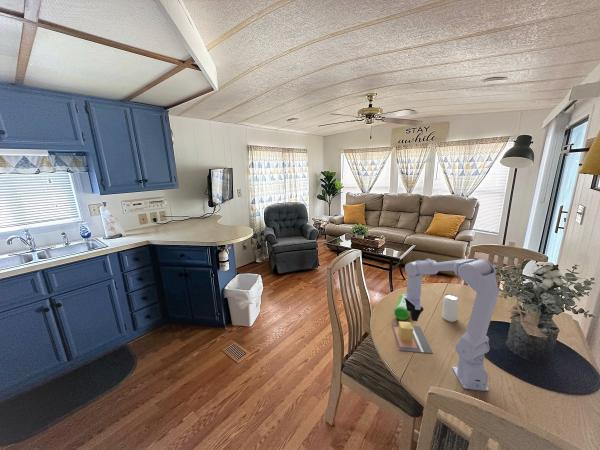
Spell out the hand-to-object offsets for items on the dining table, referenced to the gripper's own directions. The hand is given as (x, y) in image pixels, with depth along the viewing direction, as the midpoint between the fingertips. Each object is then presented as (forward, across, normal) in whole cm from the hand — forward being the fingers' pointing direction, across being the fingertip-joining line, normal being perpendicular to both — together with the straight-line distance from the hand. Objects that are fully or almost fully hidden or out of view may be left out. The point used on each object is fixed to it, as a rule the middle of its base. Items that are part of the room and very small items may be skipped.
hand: (412, 315), depth 111 cm
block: (+10, +2, -3) cm, 10 cm away
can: (+11, -16, +23) cm, 30 cm away
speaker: (+11, -20, +2) cm, 22 cm away
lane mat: (+10, +2, 0) cm, 11 cm away
